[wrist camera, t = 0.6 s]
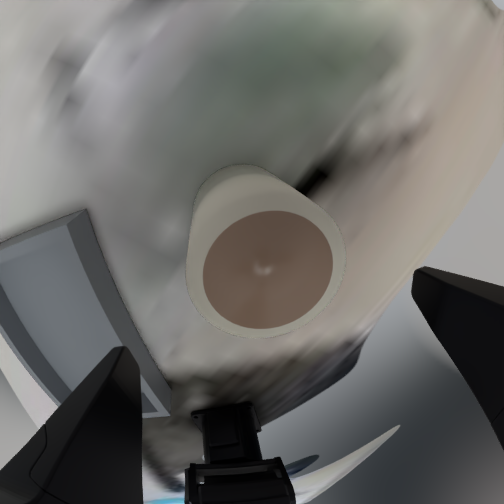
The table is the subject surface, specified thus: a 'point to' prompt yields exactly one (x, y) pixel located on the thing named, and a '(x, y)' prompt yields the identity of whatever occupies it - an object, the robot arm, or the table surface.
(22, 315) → the desk tray
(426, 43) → the table surface
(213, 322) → the ceramic cup
